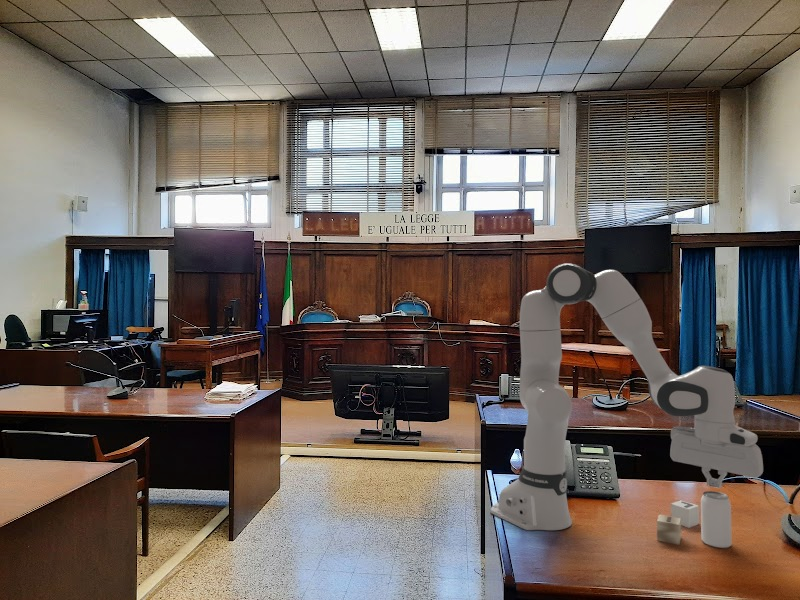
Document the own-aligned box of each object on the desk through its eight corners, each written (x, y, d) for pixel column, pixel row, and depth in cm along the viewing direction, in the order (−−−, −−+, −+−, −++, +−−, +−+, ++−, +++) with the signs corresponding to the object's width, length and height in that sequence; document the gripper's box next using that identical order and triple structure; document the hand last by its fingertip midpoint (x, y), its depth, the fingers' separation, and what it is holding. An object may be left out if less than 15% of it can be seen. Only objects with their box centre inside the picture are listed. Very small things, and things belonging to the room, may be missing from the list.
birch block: (657, 540, 134) (656, 520, 134) (659, 533, 138) (659, 513, 139) (679, 545, 132) (679, 524, 132) (681, 537, 136) (680, 517, 136)
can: (735, 550, 129) (735, 500, 129) (706, 547, 130) (706, 498, 130) (725, 538, 135) (724, 491, 135) (697, 536, 136) (697, 489, 137)
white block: (671, 522, 146) (670, 503, 146) (681, 518, 149) (680, 499, 149) (689, 528, 142) (688, 508, 142) (699, 524, 144) (698, 505, 145)
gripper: (666, 425, 139) (665, 478, 138) (758, 440, 124) (757, 500, 123) (675, 422, 143) (675, 474, 143) (765, 436, 128) (765, 494, 128)
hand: (714, 486), depth 133 cm, fingers closed
